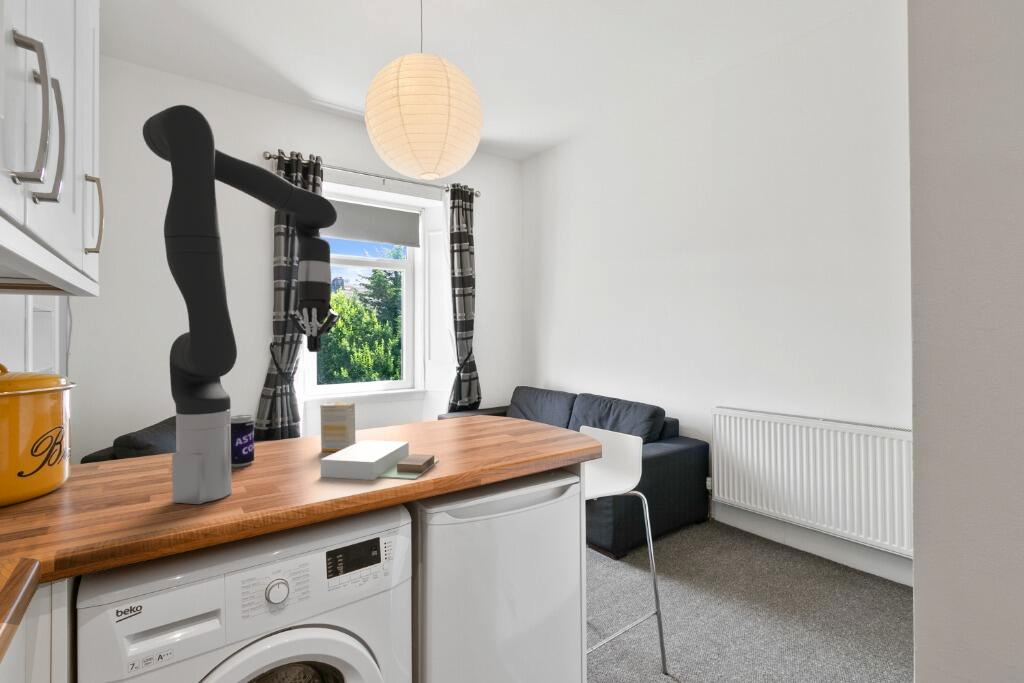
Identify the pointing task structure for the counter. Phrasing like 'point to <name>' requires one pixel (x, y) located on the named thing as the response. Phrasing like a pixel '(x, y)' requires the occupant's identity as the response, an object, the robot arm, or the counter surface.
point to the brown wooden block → (415, 463)
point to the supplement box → (337, 426)
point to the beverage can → (242, 440)
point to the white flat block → (364, 459)
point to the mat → (401, 473)
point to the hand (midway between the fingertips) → (314, 351)
